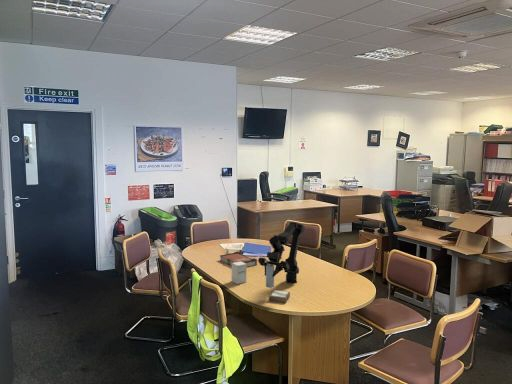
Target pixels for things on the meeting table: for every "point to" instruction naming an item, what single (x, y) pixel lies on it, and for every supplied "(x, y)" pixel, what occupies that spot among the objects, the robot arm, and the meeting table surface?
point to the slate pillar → (269, 276)
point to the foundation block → (279, 296)
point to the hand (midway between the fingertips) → (269, 276)
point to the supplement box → (238, 272)
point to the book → (238, 259)
